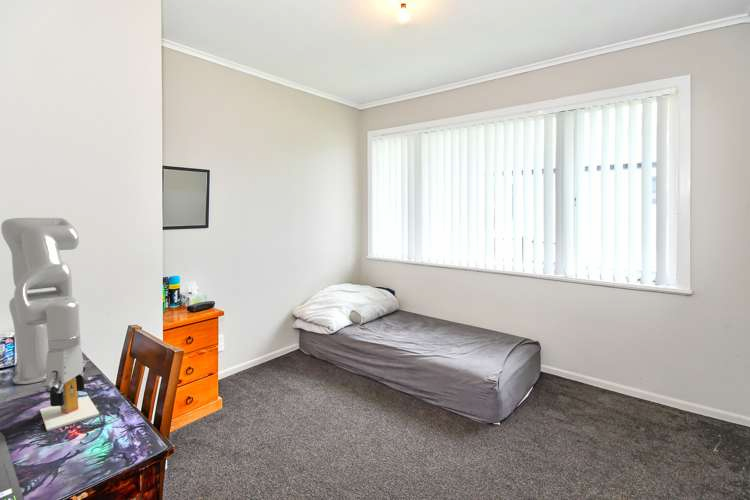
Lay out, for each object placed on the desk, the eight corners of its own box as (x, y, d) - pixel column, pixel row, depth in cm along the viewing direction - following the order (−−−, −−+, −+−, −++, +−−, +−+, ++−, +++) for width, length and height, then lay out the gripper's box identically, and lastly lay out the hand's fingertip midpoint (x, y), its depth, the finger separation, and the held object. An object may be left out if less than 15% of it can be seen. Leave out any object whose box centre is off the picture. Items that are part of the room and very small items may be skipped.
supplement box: (71, 407, 117) (69, 375, 116) (79, 409, 116) (76, 377, 115) (59, 412, 114) (57, 380, 113) (67, 414, 113) (64, 381, 112)
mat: (40, 410, 116) (39, 409, 116) (88, 397, 125) (88, 395, 125) (47, 431, 105) (46, 429, 105) (99, 415, 114) (99, 413, 114)
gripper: (69, 334, 121) (72, 385, 122) (28, 353, 104) (33, 413, 105) (95, 333, 122) (98, 384, 123) (59, 352, 105) (63, 411, 106)
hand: (68, 397), depth 114 cm, fingers open, 9 cm apart
